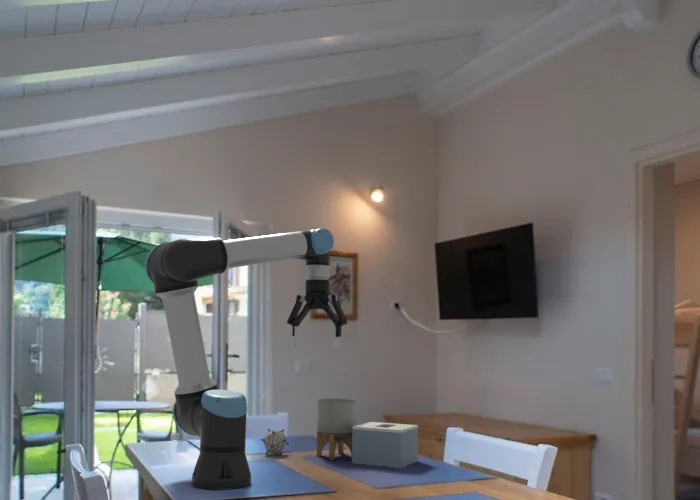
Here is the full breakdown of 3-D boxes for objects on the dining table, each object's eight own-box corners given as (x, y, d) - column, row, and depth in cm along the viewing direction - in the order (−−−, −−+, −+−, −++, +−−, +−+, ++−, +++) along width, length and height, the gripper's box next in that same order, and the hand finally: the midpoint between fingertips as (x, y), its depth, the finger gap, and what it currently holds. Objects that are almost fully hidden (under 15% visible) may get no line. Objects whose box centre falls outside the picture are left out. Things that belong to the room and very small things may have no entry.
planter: (311, 458, 222) (312, 401, 224) (322, 452, 235) (323, 397, 237) (351, 460, 219) (352, 402, 221) (360, 454, 232) (361, 399, 234)
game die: (278, 465, 230) (296, 439, 234) (274, 460, 223) (292, 433, 226) (257, 450, 233) (275, 424, 236) (252, 444, 226) (270, 418, 229)
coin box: (400, 468, 207) (401, 430, 209) (352, 463, 214) (352, 426, 216) (417, 461, 220) (418, 425, 221) (371, 456, 227) (371, 421, 228)
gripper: (358, 279, 220) (357, 348, 218) (289, 281, 231) (288, 346, 229) (347, 277, 214) (346, 348, 211) (277, 279, 225) (275, 346, 222)
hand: (316, 347), depth 220 cm, fingers open, 13 cm apart
